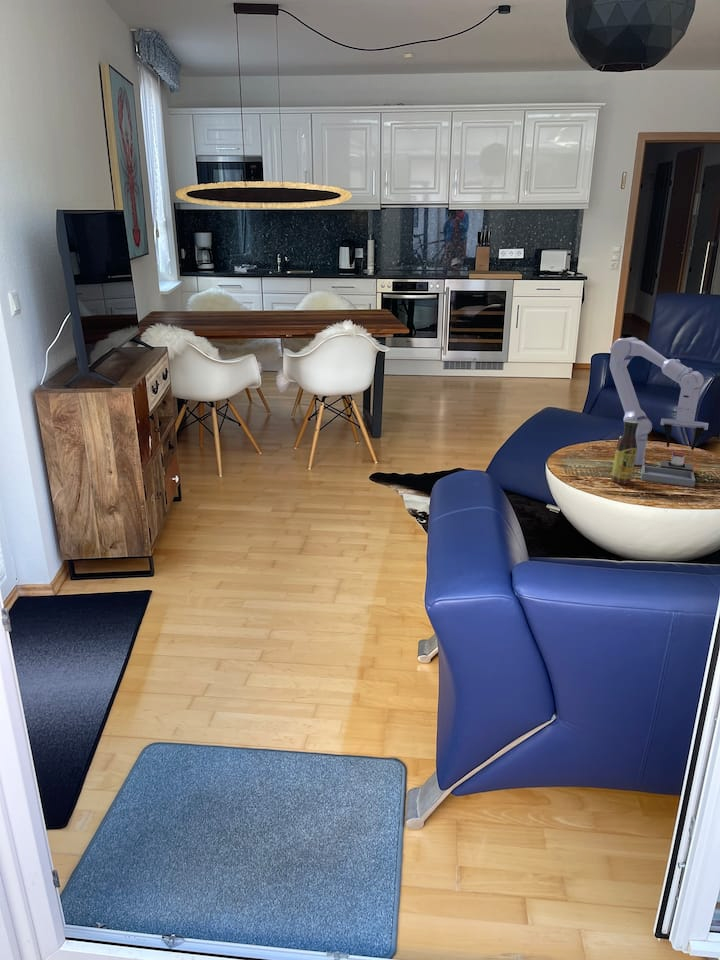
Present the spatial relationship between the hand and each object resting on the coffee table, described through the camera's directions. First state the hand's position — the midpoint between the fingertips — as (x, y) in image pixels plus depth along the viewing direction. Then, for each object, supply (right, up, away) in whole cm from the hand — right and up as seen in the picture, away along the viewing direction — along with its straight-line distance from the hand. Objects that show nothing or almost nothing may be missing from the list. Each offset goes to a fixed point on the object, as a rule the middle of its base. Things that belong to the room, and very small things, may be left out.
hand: (679, 447), depth 245 cm
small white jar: (0, -8, +3) cm, 9 cm away
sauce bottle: (-24, -12, -11) cm, 29 cm away
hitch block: (0, -8, +3) cm, 9 cm away
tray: (-7, -11, -6) cm, 14 cm away
